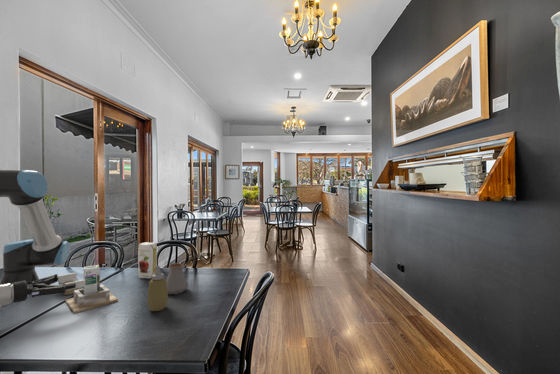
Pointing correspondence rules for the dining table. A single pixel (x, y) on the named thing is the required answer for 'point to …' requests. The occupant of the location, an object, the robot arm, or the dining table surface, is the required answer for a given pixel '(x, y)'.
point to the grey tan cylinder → (69, 292)
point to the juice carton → (147, 259)
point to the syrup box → (92, 279)
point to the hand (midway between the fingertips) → (80, 279)
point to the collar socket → (90, 299)
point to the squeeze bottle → (157, 291)
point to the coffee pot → (177, 278)
